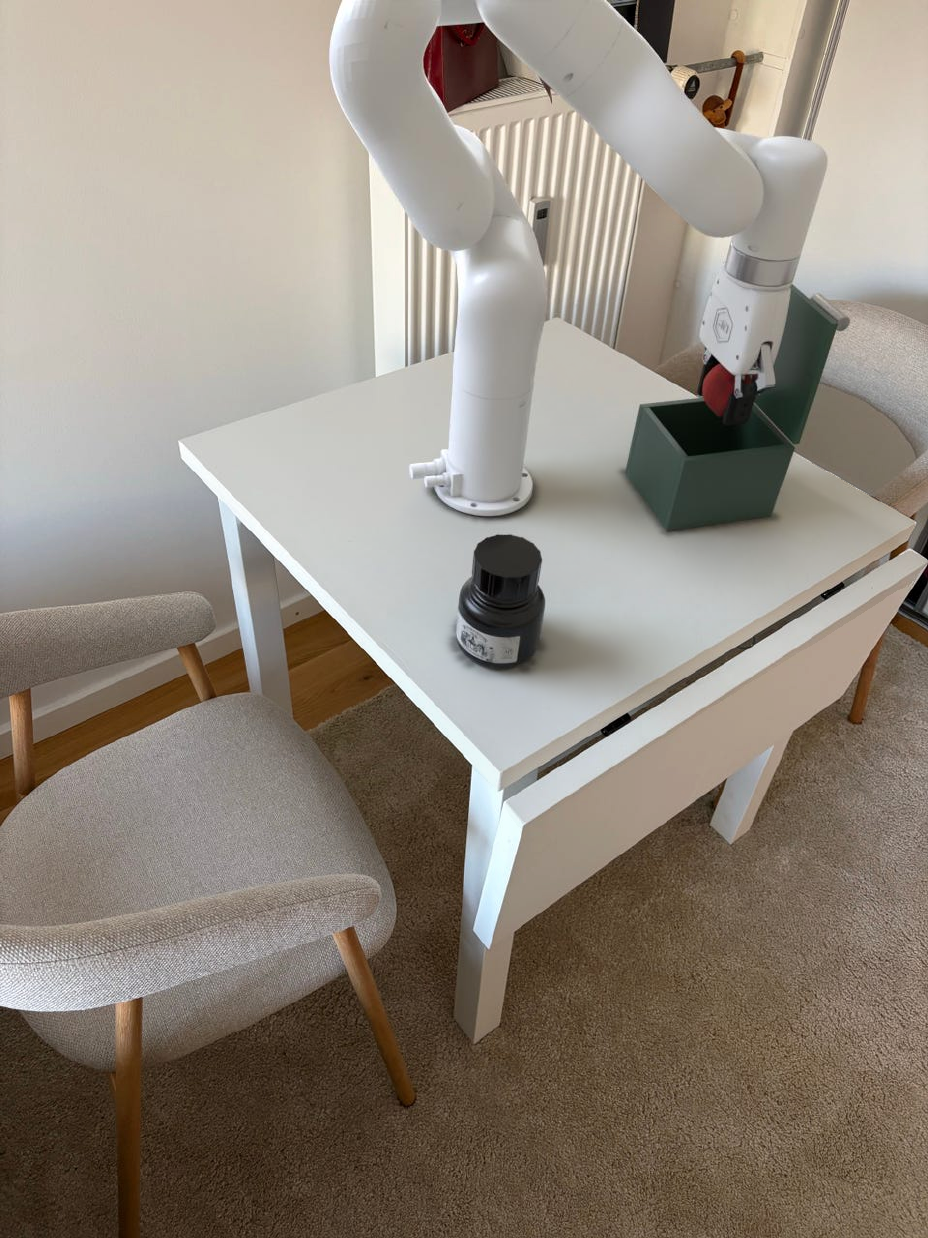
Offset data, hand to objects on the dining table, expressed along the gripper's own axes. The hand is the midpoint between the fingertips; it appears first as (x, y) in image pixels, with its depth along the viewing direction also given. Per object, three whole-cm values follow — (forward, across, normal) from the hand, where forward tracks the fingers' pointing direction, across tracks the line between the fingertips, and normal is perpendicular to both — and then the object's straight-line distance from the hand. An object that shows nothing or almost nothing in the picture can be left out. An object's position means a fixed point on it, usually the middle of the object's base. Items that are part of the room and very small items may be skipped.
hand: (721, 406), depth 119 cm
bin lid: (-6, 0, +7) cm, 9 cm away
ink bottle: (+13, +20, -34) cm, 42 cm away
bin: (+13, 0, 0) cm, 13 cm away
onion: (+1, 0, 0) cm, 1 cm away
